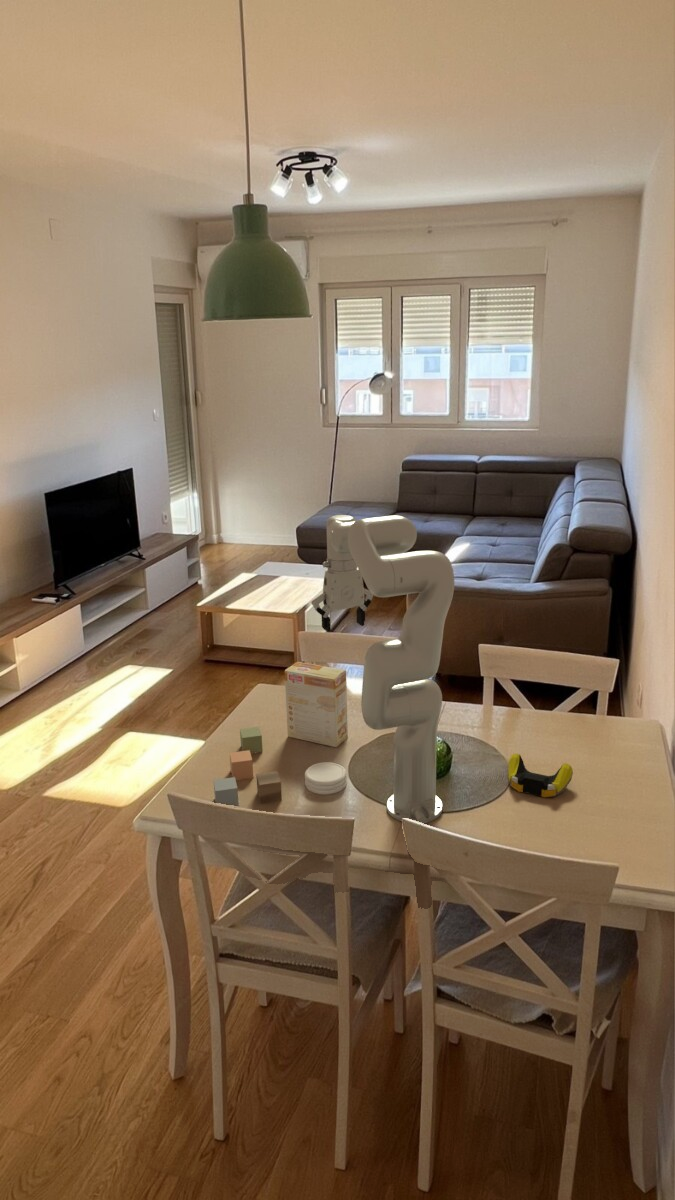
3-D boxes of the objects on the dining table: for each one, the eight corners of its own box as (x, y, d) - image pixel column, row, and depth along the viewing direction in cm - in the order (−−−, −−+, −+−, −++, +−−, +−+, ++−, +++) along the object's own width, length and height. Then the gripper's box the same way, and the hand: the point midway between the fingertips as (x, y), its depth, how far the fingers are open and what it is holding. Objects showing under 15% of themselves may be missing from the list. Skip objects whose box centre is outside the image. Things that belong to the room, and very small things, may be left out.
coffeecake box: (348, 736, 221) (347, 669, 215) (336, 748, 215) (334, 679, 209) (300, 726, 228) (297, 660, 222) (286, 737, 222) (283, 669, 216)
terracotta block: (253, 778, 202) (252, 759, 201) (233, 780, 201) (231, 762, 200) (250, 768, 207) (249, 750, 205) (230, 770, 206) (229, 752, 204)
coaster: (354, 780, 200) (354, 768, 199) (331, 800, 192) (331, 786, 191) (320, 770, 205) (320, 757, 204) (297, 788, 197) (296, 775, 196)
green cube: (262, 752, 214) (261, 735, 213) (243, 755, 213) (242, 737, 211) (259, 743, 219) (258, 726, 217) (241, 746, 218) (239, 729, 216)
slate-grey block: (238, 807, 190) (237, 788, 188) (216, 810, 189) (215, 791, 187) (236, 795, 195) (234, 777, 193) (214, 798, 194) (213, 780, 192)
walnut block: (281, 800, 192) (280, 781, 190) (260, 803, 191) (259, 784, 189) (278, 789, 197) (277, 771, 195) (257, 792, 196) (256, 774, 194)
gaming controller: (510, 770, 203) (499, 789, 194) (511, 750, 201) (500, 769, 193) (573, 783, 196) (564, 804, 188) (574, 762, 195) (565, 782, 186)
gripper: (316, 572, 204) (319, 637, 209) (379, 563, 211) (379, 626, 216) (305, 565, 211) (307, 628, 216) (366, 556, 217) (367, 617, 223)
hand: (343, 627), depth 216 cm, fingers open, 9 cm apart
